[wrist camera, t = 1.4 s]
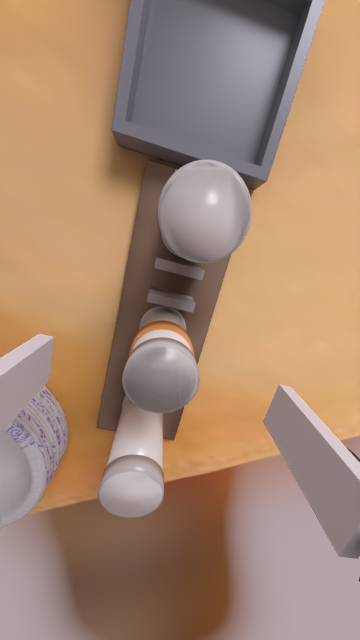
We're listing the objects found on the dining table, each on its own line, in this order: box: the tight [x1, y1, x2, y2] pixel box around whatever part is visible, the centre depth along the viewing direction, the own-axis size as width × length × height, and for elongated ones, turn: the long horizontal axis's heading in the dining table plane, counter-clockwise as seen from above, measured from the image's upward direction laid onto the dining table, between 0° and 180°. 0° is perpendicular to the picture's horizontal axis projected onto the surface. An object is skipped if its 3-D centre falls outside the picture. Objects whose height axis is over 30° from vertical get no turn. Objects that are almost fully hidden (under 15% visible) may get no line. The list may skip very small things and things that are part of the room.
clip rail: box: [97, 160, 250, 440], centre depth 21 cm, size 9×27×4 cm, turn 165°
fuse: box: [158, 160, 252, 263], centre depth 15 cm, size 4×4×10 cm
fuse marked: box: [122, 305, 200, 413], centre depth 18 cm, size 4×4×10 cm
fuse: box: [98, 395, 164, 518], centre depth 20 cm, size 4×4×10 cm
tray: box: [112, 0, 325, 189], centre depth 16 cm, size 12×12×2 cm
